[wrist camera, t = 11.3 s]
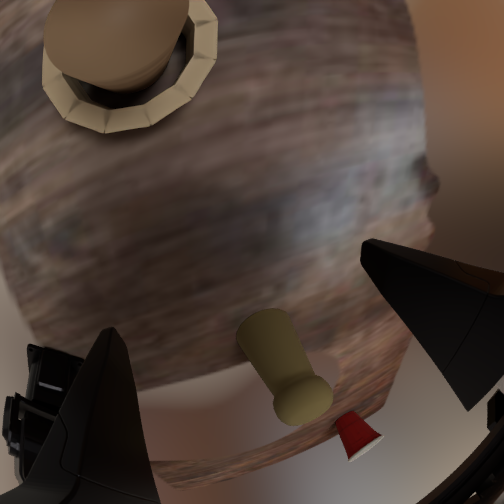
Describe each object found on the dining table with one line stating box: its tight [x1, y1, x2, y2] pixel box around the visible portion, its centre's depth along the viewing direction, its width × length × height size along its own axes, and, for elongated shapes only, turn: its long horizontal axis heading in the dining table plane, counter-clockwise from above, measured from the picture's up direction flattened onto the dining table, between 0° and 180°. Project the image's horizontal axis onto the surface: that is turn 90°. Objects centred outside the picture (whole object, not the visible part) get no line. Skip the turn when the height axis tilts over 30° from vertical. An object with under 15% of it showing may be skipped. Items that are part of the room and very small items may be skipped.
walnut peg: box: [44, 0, 189, 94], centre depth 9 cm, size 5×5×9 cm
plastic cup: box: [335, 411, 384, 462], centre depth 54 cm, size 11×11×12 cm
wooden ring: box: [42, 0, 218, 134], centre depth 11 cm, size 9×9×4 cm
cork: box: [236, 308, 333, 426], centre depth 24 cm, size 6×6×11 cm
